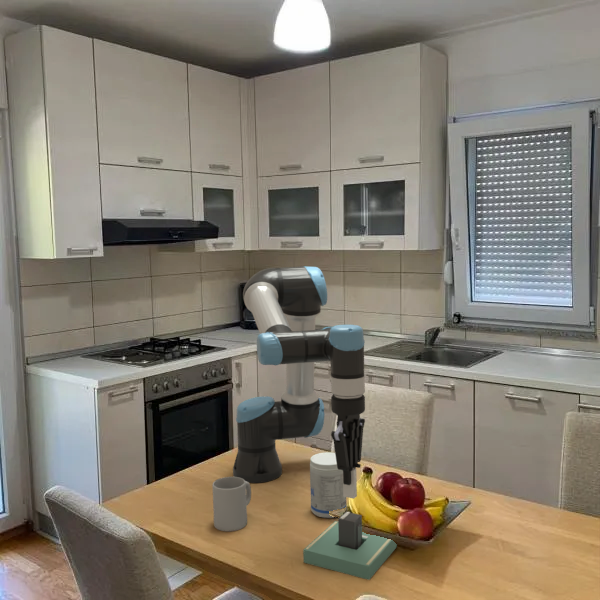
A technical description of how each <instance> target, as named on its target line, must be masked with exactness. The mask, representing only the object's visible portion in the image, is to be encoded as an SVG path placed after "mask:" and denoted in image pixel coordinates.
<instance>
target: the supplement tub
mask: <svg viewBox="0 0 600 600" xmlns="http://www.w3.org/2000/svg"><path fill="white" fill-rule="evenodd" d="M309 461H310V462H309V476H310V477H309V479H310V481H309V483H310V489H309V490H310V510H311V512H312V514H314V515H315V516H316V517H319V518H322V519H323V518H324V519H334V517H332V516H330V515H329V511H333V510H337V509H342V508H345V507H346V508H347V497H343V470H339V469H338V468H337V462H336V455H335V452H326V451H325V452H319V453H316V454H313V455H312V456H311V457H310V459H309Z"/></svg>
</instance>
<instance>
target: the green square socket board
mask: <svg viewBox="0 0 600 600" xmlns="http://www.w3.org/2000/svg"><path fill="white" fill-rule="evenodd" d="M397 545H398V543H397V544H396V543H395V542H394V541H393V540H391V539H387V538H384V537H380V536H376V535H370V534H366V533H364V532H362V545H361V546H360V547H359V548H358V549H357V550H355V549H351V548H347V547H342V546H339V530H338V520H337V521H336V520H334V521H333V523H331V524H330V525H329V526H328V527H327V528H325V530H324V531H322V532H321V533H320V534H319V535H318V536H317V537H316V538H315V539H313V540H312V541H311V542H310V543H309V544H308V545H306V546H305V547H304V548H303V551H302V552H303V553H302V554H303V563H305V564H308V565H312V566H315V567H319V568H323V569H327V570H331V571H334V572H339V573H341V574H346V575H349V576H353V577H357V578H361V579H364V580H368V581H369V580H371V579H372V577H373V576H374V575H375V573H376V572H378V570H379V569H380V567H382V565H384V563H385V562H386V561H387V560H388V558H389V557H390V556H391V554H393V552H394V551H395V549H396V548H397V547H398V546H397Z"/></svg>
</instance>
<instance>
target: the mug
mask: <svg viewBox="0 0 600 600" xmlns="http://www.w3.org/2000/svg"><path fill="white" fill-rule="evenodd" d="M211 486H212V504H213V505H212V506H213V509H212V510H213V526H214V528H215V529H217V530H218V531H221V532H235V531H239V530H242V529H244V528H245V527H246V526H247V524H248V510H247V506H249V504H250V502H251V498H252V488H251V484H250V483H248V482H247V481H245V480H244V479H242V478H239V477H234V476H225V477H220V478H218V479H215V480H214V481H213V482H212V485H211Z"/></svg>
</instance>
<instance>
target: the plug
mask: <svg viewBox="0 0 600 600" xmlns="http://www.w3.org/2000/svg"><path fill="white" fill-rule="evenodd" d="M362 516H363V514H358V513H353V512H351V511H346V512H345V513H344V514H343V515H341V516H339V517H337V518H338V520H337V521H338V530H339V546H342V547H347V548H351V549H355V550H357V549H358V548H359V547H360V546H361V545H362V527H363V520H362V519H363V517H362Z"/></svg>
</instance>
